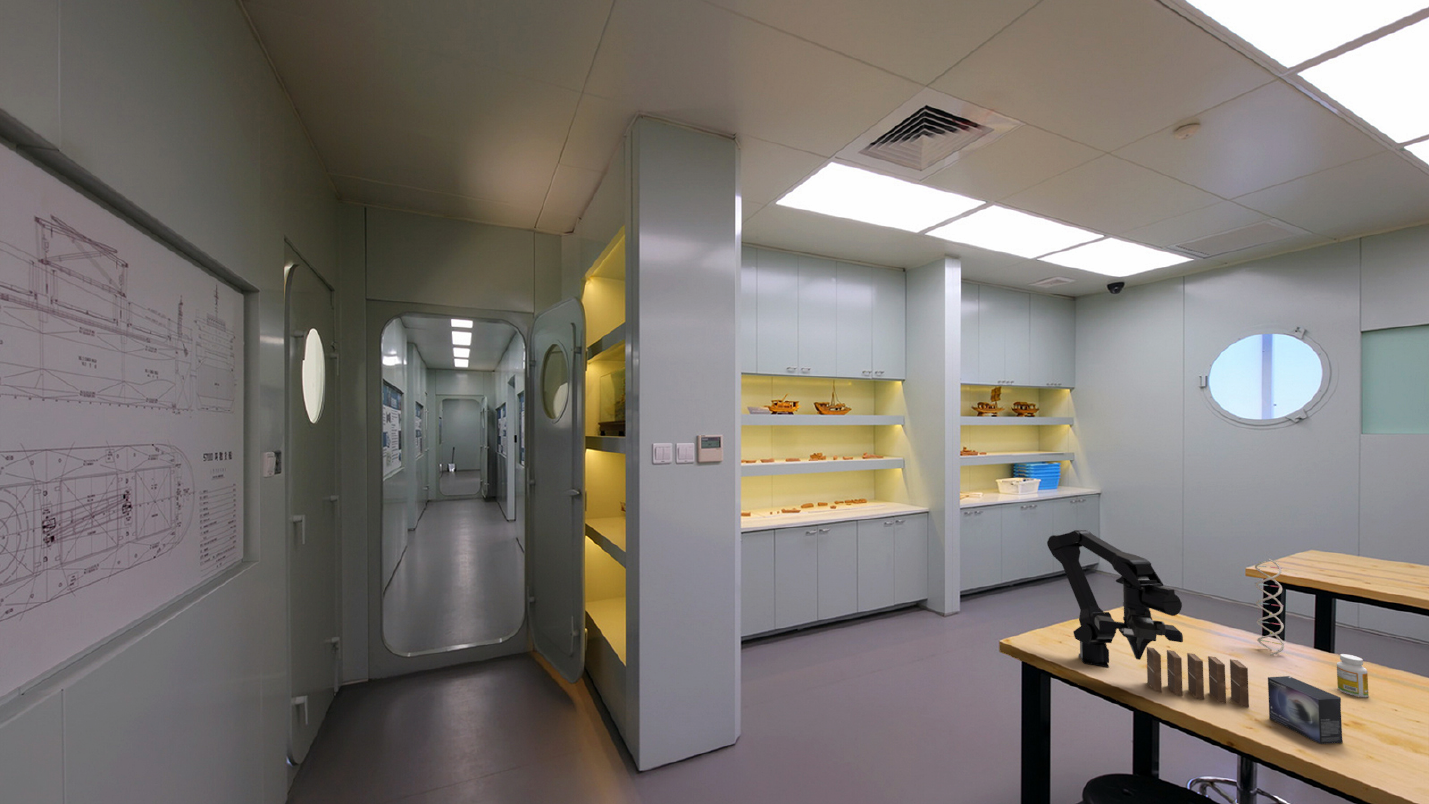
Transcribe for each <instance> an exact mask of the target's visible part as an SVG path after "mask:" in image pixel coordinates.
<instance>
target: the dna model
mask: <svg viewBox="0 0 1429 804" xmlns="http://www.w3.org/2000/svg"><path fill="white" fill-rule="evenodd" d="M1268 560H1269V561H1270V562H1272V563H1273V564H1274V565H1275V566H1276V567H1275V566H1270V567H1268V566H1267V565H1262V564H1265V563H1267V560H1264V561H1260V562H1257V563H1256V564H1255V565H1254V569H1255V570H1256V571H1258V572H1259V573H1260V574H1263V575H1264V576H1266V577H1267V578H1265V579H1262V580H1259V581H1257V582H1254V584H1255V586H1256V588H1257V590H1260V591H1261V592H1262V593H1265V594H1266V595H1268V596H1267V597H1265V598H1262V599H1258V600H1257V601H1255V605H1256V606H1257V607H1259V608H1260V609H1262V610H1264V611H1265V612H1266V613H1268V614H1269V615H1267V616H1264V617H1261V618H1258V619H1257V620H1256V624H1257V625H1258V626H1261V628H1263V629H1264V630H1266V631H1268V632H1269V634H1268V635H1267V634H1266V635H1265V636H1264V635H1262V636H1261V637H1258V638H1257V639H1256V641H1257V642H1258V643H1259V644H1261V645H1262V646H1264V648H1266V649H1268V650H1270V651H1272V650H1273V649H1272V648H1270V647H1269V646H1267V645H1266V644H1264V642H1267V643H1272V644H1276V645H1280V646H1281V647H1280V648H1279V649H1277V650H1276V651H1274V652H1272V653H1270V654H1269V655H1270V656H1274V655H1277V654H1279V653H1281V652H1283V651H1284V648H1285V643H1284V641H1283V639H1281V638H1280V636H1279V634H1281V632H1283V630H1284V627H1285V625H1284V623H1283V622H1282V621H1281V619H1280V618H1279V617H1277V616H1278V615H1280V614H1281V613H1282V612H1283V610H1284V606H1285V605H1283V604H1282V603H1281V601H1280V600H1278V598H1276V597H1278V596H1279V595H1280V594H1282V592H1283V586H1282V585H1281V583H1279V582H1278V581H1277V580H1276V578H1277V577H1279V576H1280V575H1281V573H1282V568H1283V567H1281V566H1280V565H1279V564H1278V563H1277V561H1275V560H1272V559H1271V558H1269V557H1268ZM1258 567H1260V568H1258ZM1261 568H1270V569H1277V570H1278V572H1277V574H1275V575H1273V576H1271V575H1268V574H1267V573H1265V572H1263V571H1262V570H1261ZM1270 580H1272V581H1273V582H1274V584H1275V585H1270V587H1274V588H1278V590H1277V592H1275V594H1272V593H1269V592H1267V591H1266V590H1264V589H1262V588H1261V587H1260V586H1267V587H1268V586H1269V585H1268V584H1264V582H1268V581H1270ZM1270 599H1273V600H1275V601H1276V602H1277V604H1274V603H1273V604H1271V603H1266V602H1265V601H1268V600H1270ZM1270 604H1271V606H1275V607H1280V609H1279V611H1277V612H1276V613H1273V612H1272V611H1270V610H1267V609H1266V608H1264V607H1263V606H1262V605H1270ZM1269 618H1275V619H1276V620H1277V621H1278V623H1276V622H1275V623H1274V622H1271V624H1272V625H1276V626H1277V625H1279V626H1280V629H1279V630H1278V631H1275V632H1274V631H1273V630H1270V629H1269V628H1267V627H1266V626H1264V625H1263V624H1270V622H1268V621H1264V620H1267V619H1269ZM1262 623H1263V624H1262ZM1274 636H1275V637H1276V640H1279V642H1280V643H1279V642H1274V641H1269V640H1264V639H1267V638H1271V637H1274Z"/></svg>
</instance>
